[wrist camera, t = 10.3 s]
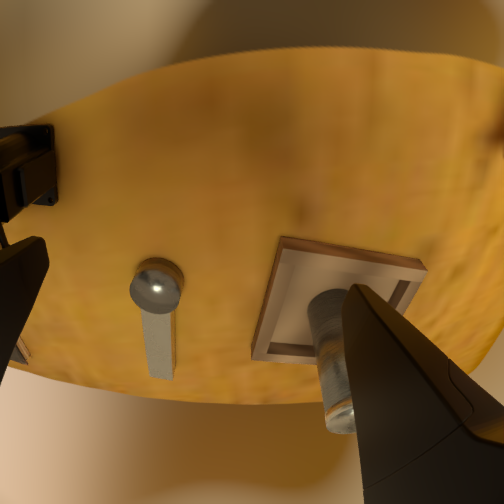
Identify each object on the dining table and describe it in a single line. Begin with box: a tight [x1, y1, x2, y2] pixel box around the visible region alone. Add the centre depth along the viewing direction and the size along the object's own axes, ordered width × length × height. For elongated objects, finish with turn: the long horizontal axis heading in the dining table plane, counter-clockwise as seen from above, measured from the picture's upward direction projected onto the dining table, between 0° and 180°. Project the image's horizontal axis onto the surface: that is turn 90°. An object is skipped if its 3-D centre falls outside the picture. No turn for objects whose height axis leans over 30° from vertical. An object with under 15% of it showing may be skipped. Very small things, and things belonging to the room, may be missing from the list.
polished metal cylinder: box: [307, 289, 356, 434], centre depth 22 cm, size 5×5×11 cm
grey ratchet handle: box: [130, 258, 184, 381], centre depth 26 cm, size 14×4×2 cm, turn 171°
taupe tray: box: [251, 236, 428, 365], centre depth 26 cm, size 12×12×2 cm
